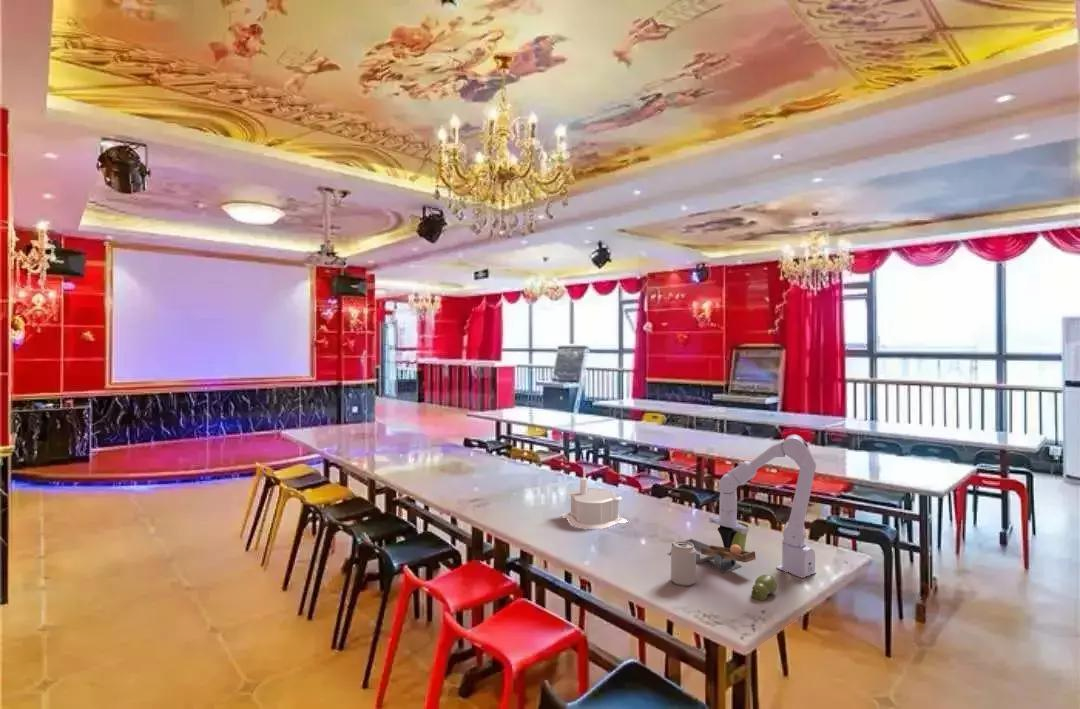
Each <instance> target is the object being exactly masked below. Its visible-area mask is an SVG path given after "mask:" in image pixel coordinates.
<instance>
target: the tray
mask: <svg viewBox="0 0 1080 709" xmlns="http://www.w3.org/2000/svg"><path fill="white" fill-rule="evenodd" d="M682 541H686V542H690V543H692V544H693V545H694V548H695V549H696V564H701V563H703V562H707V561H710V560H714V556H709V555H704V554H701V548H707V549H710V545H711V544H707V543H705V542H703V541H700V540H697V539H695V538H687V539H683V540H682ZM673 543H674V542H673ZM673 543H671V547H672V546H673Z"/></svg>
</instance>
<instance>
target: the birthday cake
mask: <svg viewBox="0 0 1080 709" xmlns="http://www.w3.org/2000/svg"><path fill="white" fill-rule="evenodd" d="M582 472H583V473H582V474H583V475H582V477H581V478H580V479H579V482H580V483H579V490H573V491H570V492H568V493H567V495H568V496H570V512H565V513H562V514H563V515H562V514H561V515H562V516H563V517H565V518H568V519H569V521H570V523H571V524H572V525H573V526H577V527H580V528H588V529H603V528H607V527H610V526H612V525H615V524H617V523H626V522H628V521H629V520H628V519H626V518H623V517H621V516H620V517H621V518H620V517H619V515H620V514H619V512H620V511H619V510H620V509H619V502H620V501H619V500H622V499H623V497H622V496H620V495H618V494H615V493H614V492H613V491H611V490H609V489H605V488H596V487H595V488H588V478H586V467H582ZM627 520H628V521H627ZM573 526H572V527H573ZM580 528H579V529H580Z"/></svg>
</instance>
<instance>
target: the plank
mask: <svg viewBox="0 0 1080 709" xmlns="http://www.w3.org/2000/svg"><path fill="white" fill-rule="evenodd" d="M709 545H710V549H707V548H701V554H704V555H709V556H714V554H715V553H716V554H719V555H721V558H725V559H730V560H735V561H736V562H742V563H748V562H752V561H755V560H757V557H756V556H757V555H756V552H755V551H754V550H753V551H747V550H743V551H742V550H741V554H734V553H731V551H730V548H725V547H724V546H718V545H713V544H709Z"/></svg>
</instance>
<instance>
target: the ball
mask: <svg viewBox="0 0 1080 709" xmlns="http://www.w3.org/2000/svg"><path fill="white" fill-rule="evenodd" d="M730 551H731V553H734V554H741V548H740V546H738V545H732V546H731V548H730Z"/></svg>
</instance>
